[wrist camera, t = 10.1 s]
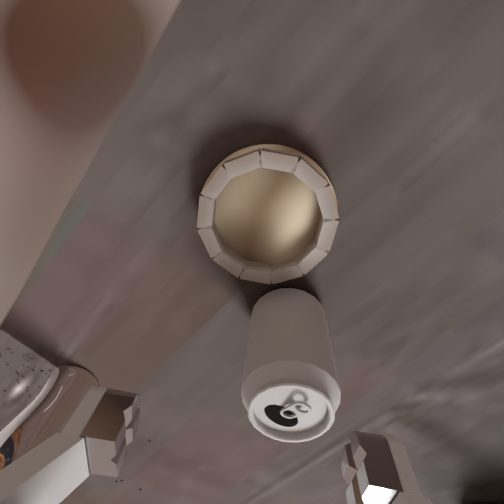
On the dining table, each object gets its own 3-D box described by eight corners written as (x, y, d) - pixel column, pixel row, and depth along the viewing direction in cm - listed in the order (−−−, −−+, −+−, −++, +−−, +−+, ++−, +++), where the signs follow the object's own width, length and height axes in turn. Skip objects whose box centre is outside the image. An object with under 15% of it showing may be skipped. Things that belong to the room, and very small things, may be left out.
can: (237, 314, 34) (217, 416, 23) (285, 269, 31) (287, 362, 20) (289, 352, 35) (293, 463, 25) (339, 312, 33) (368, 419, 22)
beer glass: (79, 355, 38) (-27, 495, 25) (113, 392, 41) (33, 537, 28) (38, 369, 40) (-82, 507, 27) (73, 404, 43) (-20, 546, 30)
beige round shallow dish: (353, 157, 26) (360, 164, 23) (316, 281, 31) (319, 296, 29) (207, 131, 26) (200, 135, 23) (196, 259, 31) (189, 272, 29)
